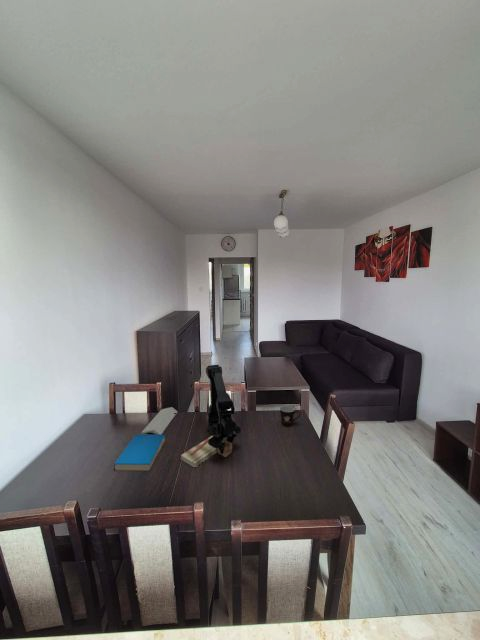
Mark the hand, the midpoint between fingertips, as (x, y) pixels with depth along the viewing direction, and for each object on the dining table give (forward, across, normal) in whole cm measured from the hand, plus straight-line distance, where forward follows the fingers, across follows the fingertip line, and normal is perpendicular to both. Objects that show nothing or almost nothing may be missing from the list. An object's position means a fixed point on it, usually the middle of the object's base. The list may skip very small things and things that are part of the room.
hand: (225, 451), depth 141 cm
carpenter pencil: (-1, +7, -11) cm, 13 cm away
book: (+2, +26, -34) cm, 43 cm away
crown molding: (+2, +1, -54) cm, 54 cm away
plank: (+1, +6, -9) cm, 11 cm away
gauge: (+1, 0, 0) cm, 1 cm away
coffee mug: (+2, -45, +12) cm, 47 cm away
